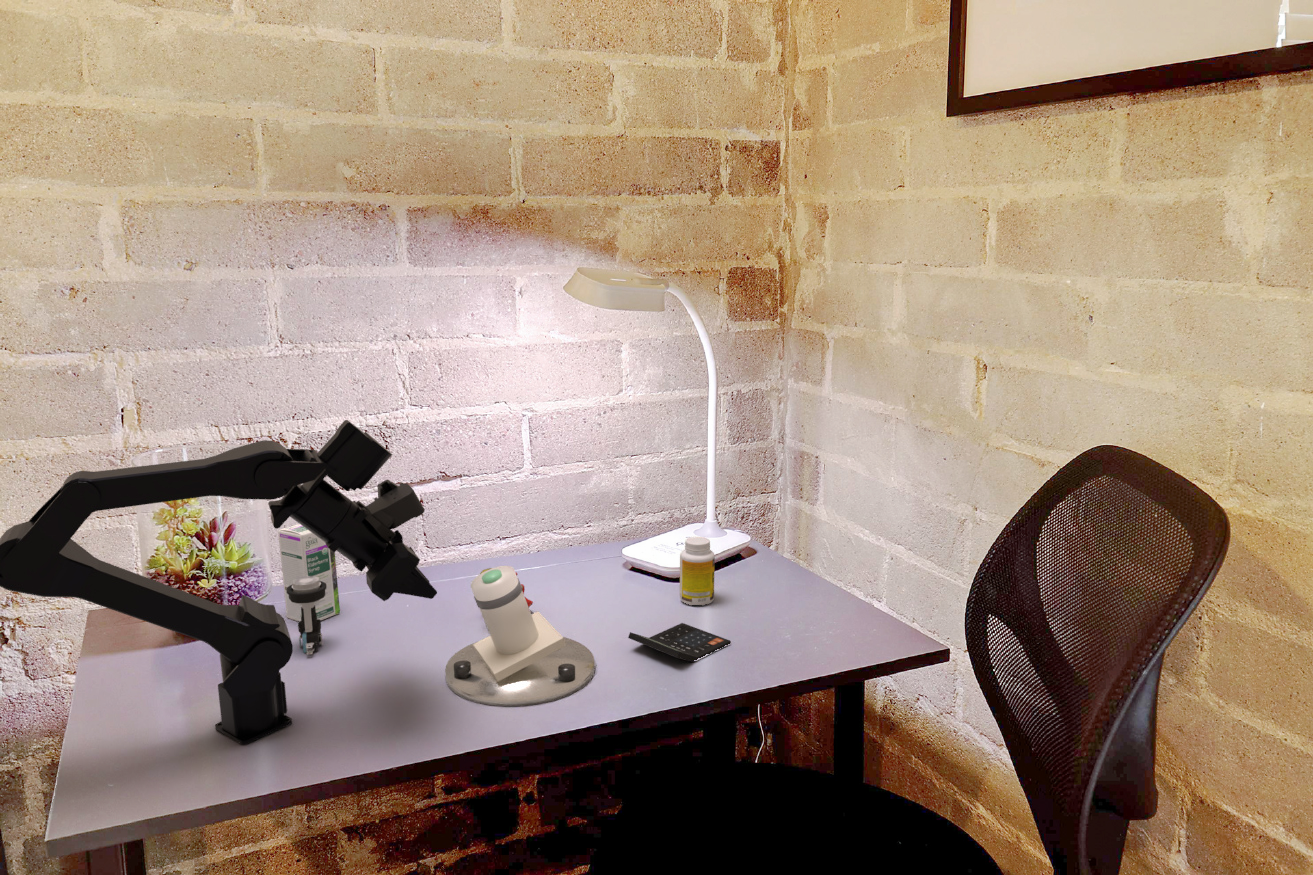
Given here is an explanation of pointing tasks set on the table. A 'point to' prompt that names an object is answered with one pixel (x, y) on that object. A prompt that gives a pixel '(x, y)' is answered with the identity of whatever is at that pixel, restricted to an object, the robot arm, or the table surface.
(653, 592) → the table surface
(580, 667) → the silver round metal plate
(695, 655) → the calculator
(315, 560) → the syrup box
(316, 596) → the push button
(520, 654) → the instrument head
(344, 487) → the robot arm
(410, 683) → the table surface
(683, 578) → the supplement bottle
